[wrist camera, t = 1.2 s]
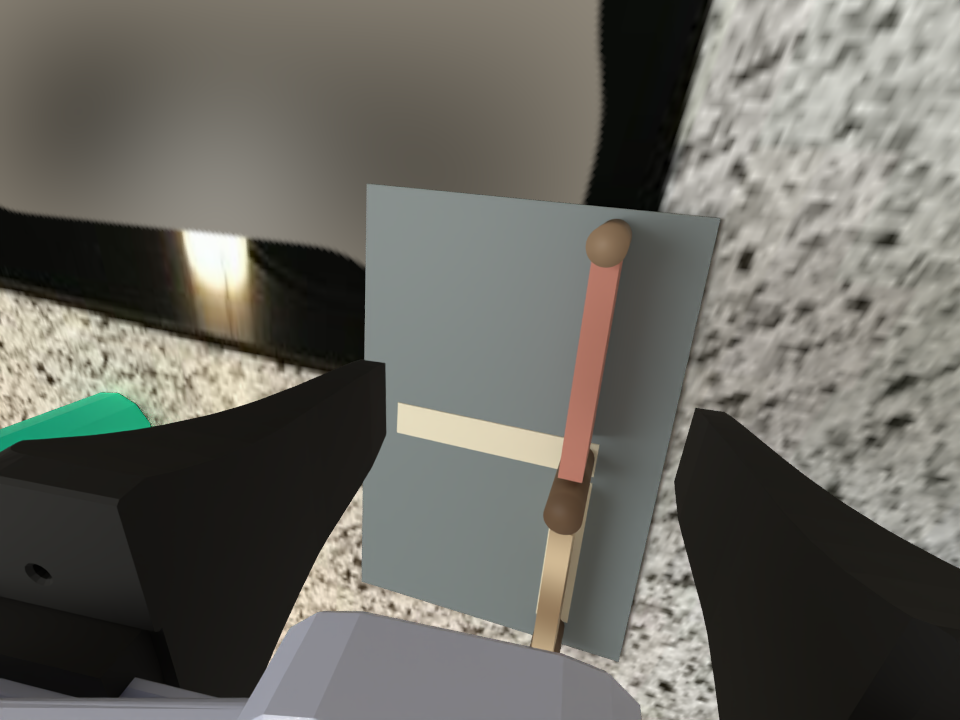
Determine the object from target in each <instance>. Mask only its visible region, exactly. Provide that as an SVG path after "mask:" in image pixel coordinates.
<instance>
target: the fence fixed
mask: <svg viewBox="0 0 960 720" xmlns="http://www.w3.org/2000/svg"><path fill="white" fill-rule="evenodd" d="M560 460H561V459H560ZM594 460H595V458H594V454H593V452H592V450H591V449H589V454H588V458H587V463H586V467H585V472H584V476H583V481H582V483H579V482H575V481H570V480H566V479H562V478H558V473H559V467H560V462H559V466H558V469H557V472H556V475H555V478H554V481H553V484H552V487H551V490H550V493H549V496H548V499H547V502H546V506H545V509H544V512H543V518H544V522H545V524H546V525H547V526H548V528H549V529H550V531H549V538H548V544H547V551H546V557H545V563H544V570H543V576H542V583H541V589H540V596H539V602H538V609H537V615H536V622H535V628H534V632H533V636H532V640H531V644H530V647H533V648H538V649H543V650H548V651H552V652H557V653H560V649H561V644H562V638H563V633H564V628H565V625H564V622H563V621H562V620H561V613H562V607H563V602H564V596H565V590H566V585H567V579H568V573H569V567H570V562H571V556H572V550H573V545H574V539H575V533H576V532H577V531H578V530H579V529H580V528H581V526H582V522H583V517H584V512H585V507H586V502H587V496H588V491H589V486H590V481H591V476H592V471H593V466H594Z"/></svg>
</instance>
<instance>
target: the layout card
mask: <svg viewBox="0 0 960 720" xmlns="http://www.w3.org/2000/svg"><path fill="white" fill-rule="evenodd" d="M366 214H367V215H366V217H367V218H366V289H365V360H368V361H375V362H382V363H386V437H385V439H384V441H383V444H382V446H381V449H380V451H379V453H378V456H377V458H376V460H375V462H374V464H373V466H372V468H371V470H370V472H369V473H368V475H367V477H366V478H365V480H364V481H363V520H362V582H365V583H368V584H372V585H375V586H378V587H381V588H384V589H388V590H391V591H394V592H397V593H400V594H404V595H407V596H410V597H413V598H416V599H420V600H423V601H426V602H429V603H432V604H436V605H439V606H442V607H445V608H448V609H451V610H455V611H458V612H461V613H464V614H467V615H471V616H474V617H477V618H480V619H483V620H487V621H490V622H493V623H496V624H499V625H503V626H506V627H509V628H512V629H515V630H519V631H522V632H525V633H528V634H531V635H533V632H534V628H535V622H536V615H537V609H538V602H539V596H540V589H541V583H542V576H543V570H544V563H545V557H546V551H547V544H548V538H549V531H550V529H549V528H548V526H547V525H546V524H545V522H544V518H543V512H544V509H545V506H546V502H547V499H548V496H549V493H550V490H551V487H552V484H553V481H554V478H555V475H556V472H557V469H558V466H559V462H560V459H561V454H562V447H563V441H564V434H565V428H566V421H567V415H568V409H569V402H570V396H571V389H572V383H573V376H574V370H575V363H576V357H577V350H578V344H579V338H580V331H581V325H582V318H583V312H584V305H585V299H586V292H587V286H588V279H589V273H590V267H591V261H590V259H589V258H588V256H587V253H586V241H587V239H588V237H589V235H590V234H591V233H592V231H594V230H595V229H596V228H598V227H599V226H601V225H602V224H604V223H605V222H607V221H608V220H611V219H621V220H623V221H625V222H627V223H628V224H629V226H630V228H631V230H632V240H631V243H630V246H629V249H628V252H627V254H626V256H625V258H624V259H623V263H622V269H621V274H620V280H619V286H618V292H617V297H616V303H615V309H614V315H613V320H612V326H611V332H610V337H609V343H608V349H607V355H606V360H605V366H604V372H603V377H602V383H601V389H600V395H599V400H598V406H597V412H596V418H595V423H594V429H593V435H592V440H591V445H590V449H591V450H592V452H593V454H594V458H595V460H594V466H593V471H592V476H591V481H590V486H589V491H588V496H587V502H586V507H585V512H584V517H583V522H582V526H581V528H580V529H579V530H578V531H577V532H576V533H575V539H574V545H573V550H572V556H571V562H570V567H569V573H568V579H567V585H566V590H565V596H564V602H563V607H562V613H561V620H562V621H563V622H564V625H565V628H564V633H563V638H562V644H563V645H566V646H570V647H573V648H576V649H579V650H582V651H586V652H589V653H592V654H595V655H598V656H602V657H605V658H608V659H611V660H614V661H618V662H619V657H620V653H621V649H622V644H623V640H624V636H625V631H626V627H627V623H628V618H629V614H630V610H631V605H632V601H633V597H634V592H635V588H636V584H637V579H638V575H639V571H640V566H641V562H642V557H643V553H644V549H645V544H646V540H647V536H648V531H649V527H650V523H651V518H652V514H653V510H654V505H655V501H656V497H657V492H658V488H659V484H660V479H661V475H662V471H663V466H664V462H665V458H666V453H667V449H668V444H669V440H670V436H671V431H672V427H673V423H674V418H675V414H676V410H677V405H678V401H679V397H680V392H681V388H682V384H683V379H684V375H685V371H686V366H687V362H688V358H689V353H690V349H691V345H692V340H693V336H694V331H695V327H696V323H697V318H698V314H699V310H700V305H701V301H702V297H703V292H704V288H705V284H706V279H707V275H708V271H709V266H710V262H711V258H712V253H713V249H714V245H715V240H716V236H717V232H718V227H719V223H720V218H713V217H703V216H693V215H683V214H672V213H662V212H652V211H642V210H632V209H621V208H611V207H601V206H591V205H581V204H571V203H560V202H549V201H540V200H530V199H520V198H509V197H499V196H488V195H479V194H468V193H458V192H448V191H438V190H428V189H418V188H408V187H397V186H386V185H377V184H367V213H366Z"/></svg>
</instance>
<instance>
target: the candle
mask: <svg viewBox="0 0 960 720" xmlns="http://www.w3.org/2000/svg"><path fill="white" fill-rule="evenodd" d="M148 427H151V425H150V423H149V421H148V420H147V419H146V417H145V416H144V415H143V413H142V412H141V410H140V409H139V408H138V406H137V405H136V404H135V403H133V402H131V401H130V400H128V399H127V398H125V397H123V396H122V395H120V394H119V393H102V392H101V393H98V394H96V395H93V396H90V397H87V398H85V399H82V400H79V401H76V402H74V403H71V404H68V405H65V406H63V407H60V408H57V409H55V410H52V411H49V412H46V413H44V414H41V415H38V416H35V417H33V418H30V419H27V420H24V421H22V422H19V423H16V424H14V425H11V426H8V427H5V428H3V429H0V452H1V451H3V450H4V449H6V448H8V447H10V446H11V445H13V444H15V443H17V442H19V441H22V440H34V439H48V438H61V437H74V436H87V435H97V434H106V433H114V432H121V431H129V430H136V429H142V428H148Z"/></svg>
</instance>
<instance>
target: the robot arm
mask: <svg viewBox="0 0 960 720" xmlns="http://www.w3.org/2000/svg"><path fill="white" fill-rule="evenodd" d="M385 437H386V363H382V362H375V361H368V360H358V361H355V362H352V363H349V364H347V365H344V366H342V367H339V368H337V369H335V370H332V371H330V372H328V373H325V374H323V375H321V376H318V377H316V378H314V379H311V380H309V381H307V382H304V383H302V384H299V385H297V386H295V387H292V388H289V389H287V390H284V391H281V392H279V393H276V394H274V395H271V396H268V397H266V398H263V399H261V400H258V401H255V402H252V403H249V404H246V405H242V406H239V407H236V408H232V409H229V410H225V411H222V412H218V413H215V414H211V415H207V416H202V417H198V418H193V419H188V420H184V421H179V422H174V423H170V424H165V425H160V426H154V427H148V428H142V429H136V430H129V431H121V432H114V433H106V434H97V435H87V436H74V437H61V438H48V439H34V440H22V441H19V442H17V443H15V444H13V445H11V446H10V447H8V448H6V449H4V450H3V451H1V452H0V720H642V719H641V710H640V705H639V704H638V703H637V702H636V701H635V700H634V699H633V697H632V696H631V695H630V694H629V693H628V692H627V691H626V690H625V689H624V688H623V687H622V686H621V685H620V684H619V683H618V682H617V681H616V680H615V679H614V678H613V677H612V676H611V675H610V674H608V673H607V672H606V671H604V670H602V669H599V668H597V667H594V666H592V665H589V664H587V663H584V662H582V661H579V660H577V659H574V658H572V657H570V656H567V655H565V654H562V653H557V652H552V651H548V650H543V649H538V648H533V647H529V646H524V645H519V644H515V643H510V642H505V641H500V640H496V639H491V638H486V637H482V636H477V635H472V634H468V633H463V632H458V631H453V630H449V629H444V628H439V627H435V626H430V625H425V624H420V623H416V622H411V621H406V620H402V619H397V618H392V617H388V616H383V615H378V614H373V613H369V612H361V611H322V612H317V613H316V614H314V615H312V616H310V617H308V618H307V619H305V620H303V621H301V622H299V623H298V624H296V625H294V626H292V627H290V629H289V630H288V632H287V634H286V635H285V637H284V639H283V641H282V642H281V644H280V646H279V648H278V649H277V651H276V653H275V655H274V656H273V658H272V660H271V662H270V663H269V661H270V658H271V656H272V654H273V651H274V649H275V647H276V644H277V642H278V640H279V637H280V635H281V633H282V630H283V628H284V626H285V624H286V622H287V619H288V617H289V615H290V613H291V611H292V609H293V606H294V604H295V602H296V600H297V598H298V595H299V593H300V591H301V589H302V587H303V585H304V583H305V581H306V579H307V577H308V575H309V573H310V571H311V569H312V567H313V564H314V562H315V560H316V558H317V556H318V554H319V553H320V551H321V549H322V547H323V546H324V544H325V542H326V540H327V539H328V537H329V535H330V534H331V532H332V531H333V529H334V527H335V526H336V524H337V523H338V521H339V520H340V518H341V516H342V515H343V513H344V512H345V510H346V508H347V507H348V505H349V504H350V502H351V501H352V499H353V497H354V496H355V494H356V493H357V491H358V489H359V488H360V486H361V485H362V483H363V481H364V480H365V478H366V477H367V475H368V473H369V472H370V470H371V468H372V466H373V464H374V462H375V460H376V458H377V456H378V453H379V451H380V449H381V446H382V444H383V441H384V439H385ZM674 484H675V494H676V504H677V512H678V520H679V524H680V528H681V532H682V536H683V540H684V544H685V548H686V552H687V555H688V559H689V563H690V567H691V570H692V574H693V578H694V582H695V585H696V589H697V593H698V596H699V600H700V604H701V608H702V611H703V616H704V621H705V625H706V630H707V635H708V642H709V648H710V655H711V661H712V668H713V674H714V681H715V689H716V697H717V704H718V712H719V720H960V569H959V568H957V567H955V566H953V565H951V564H949V563H947V562H945V561H943V560H941V559H939V558H938V557H936V556H934V555H932V554H930V553H928V552H926V551H924V550H923V549H921V548H919V547H917V546H915V545H913V544H911V543H910V542H908V541H906V540H904V539H902V538H900V537H899V536H897V535H895V534H893V533H892V532H890V531H888V530H886V529H885V528H883V527H881V526H880V525H878V524H876V523H875V522H873V521H872V520H870V519H868V518H867V517H865V516H864V515H862V514H860V513H859V512H857V511H856V510H854V509H852V508H851V507H849V506H848V505H846V504H845V503H843V502H842V501H840V500H839V499H837V498H836V497H834V496H833V495H831V494H830V493H829V492H827V491H826V490H824V489H823V488H822V487H820V486H819V485H817V484H816V483H815V482H813V481H812V480H811V479H809V478H808V477H806V476H805V475H804V474H802V473H801V472H800V471H799V470H797V469H796V468H795V467H793V466H792V465H791V464H789V463H788V462H787V461H786V460H784V459H783V458H782V457H781V456H779V455H778V454H777V453H776V452H774V451H773V450H772V449H771V448H770V447H768V446H767V445H766V444H765V443H763V442H762V441H761V440H760V439H759V438H757V437H756V436H755V435H754V434H753V433H751V432H750V431H749V430H748V429H746V428H745V427H744V426H743V425H742V424H740V423H739V422H738V421H736V420H735V419H734V418H732V417H731V416H730V415H728V414H727V413H725V412H720V411H713V410H706V409H699V408H695V412H694V415H693V419H692V422H691V425H690V429H689V432H688V436H687V439H686V443H685V446H684V450H683V453H682V457H681V460H680V464H679V467H678V470H677V474H676V477H675V481H674ZM268 663H269V665H268ZM267 665H268V667H267Z"/></svg>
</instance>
